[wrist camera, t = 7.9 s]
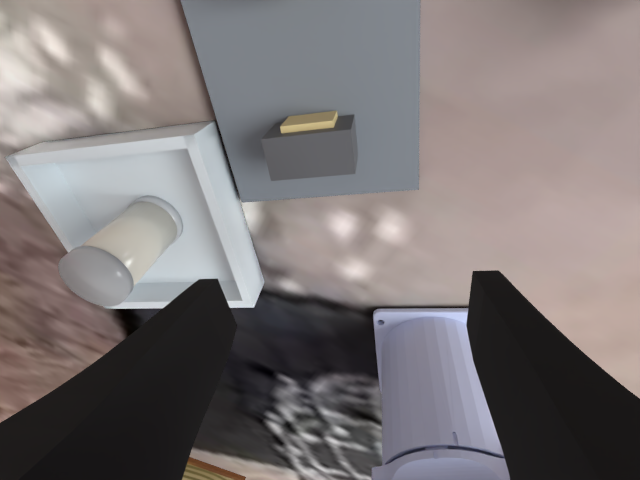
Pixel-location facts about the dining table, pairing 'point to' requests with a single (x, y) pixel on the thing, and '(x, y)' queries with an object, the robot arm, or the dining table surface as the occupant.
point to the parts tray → (154, 180)
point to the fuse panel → (313, 93)
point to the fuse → (121, 251)
